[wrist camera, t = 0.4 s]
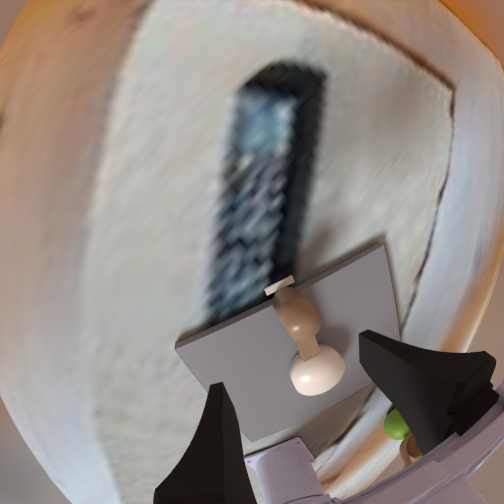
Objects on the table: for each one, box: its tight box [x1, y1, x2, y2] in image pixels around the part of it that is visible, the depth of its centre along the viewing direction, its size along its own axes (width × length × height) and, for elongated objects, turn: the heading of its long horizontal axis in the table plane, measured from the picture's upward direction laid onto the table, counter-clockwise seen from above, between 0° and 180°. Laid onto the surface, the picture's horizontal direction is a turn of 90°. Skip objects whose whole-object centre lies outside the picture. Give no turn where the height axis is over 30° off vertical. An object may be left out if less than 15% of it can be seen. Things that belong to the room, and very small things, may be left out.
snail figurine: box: [384, 408, 423, 468], centre depth 26 cm, size 5×6×12 cm
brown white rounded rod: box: [272, 287, 345, 396], centre depth 21 cm, size 12×5×4 cm, turn 23°
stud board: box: [175, 242, 400, 442], centre depth 24 cm, size 18×20×1 cm
